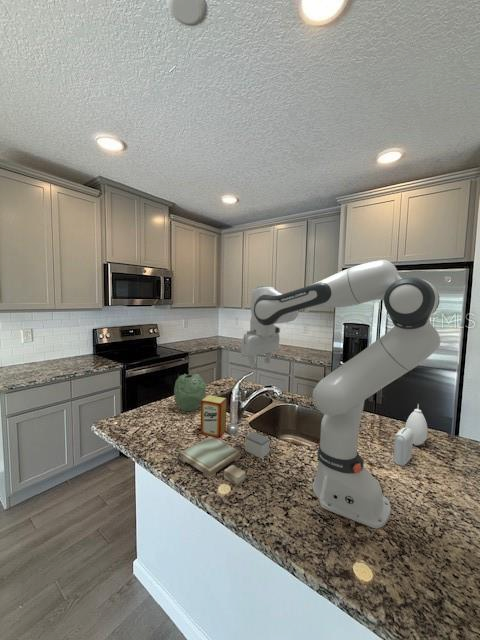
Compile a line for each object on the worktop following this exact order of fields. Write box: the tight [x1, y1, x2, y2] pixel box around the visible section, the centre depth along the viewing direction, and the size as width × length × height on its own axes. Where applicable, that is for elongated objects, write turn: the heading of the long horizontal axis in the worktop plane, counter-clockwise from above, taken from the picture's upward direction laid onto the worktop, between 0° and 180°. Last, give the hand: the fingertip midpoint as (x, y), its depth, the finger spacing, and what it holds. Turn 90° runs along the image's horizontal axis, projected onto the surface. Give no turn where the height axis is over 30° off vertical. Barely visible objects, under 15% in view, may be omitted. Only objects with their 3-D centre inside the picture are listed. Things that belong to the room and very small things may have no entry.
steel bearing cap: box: [226, 422, 239, 436], centre depth 123 cm, size 5×5×3 cm
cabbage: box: [173, 373, 208, 412], centre depth 144 cm, size 16×19×20 cm
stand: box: [179, 436, 241, 480], centre depth 102 cm, size 16×16×3 cm
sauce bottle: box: [404, 403, 428, 446], centre depth 116 cm, size 8×8×18 cm
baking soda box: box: [200, 394, 228, 439], centre depth 121 cm, size 10×6×16 cm
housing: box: [244, 431, 270, 459], centre depth 107 cm, size 8×5×6 cm, turn 50°
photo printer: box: [392, 426, 413, 467], centre depth 104 cm, size 10×4×12 cm, turn 132°
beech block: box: [223, 464, 246, 487], centre depth 91 cm, size 6×4×3 cm, turn 50°
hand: (260, 365), depth 104 cm, fingers open, 8 cm apart
